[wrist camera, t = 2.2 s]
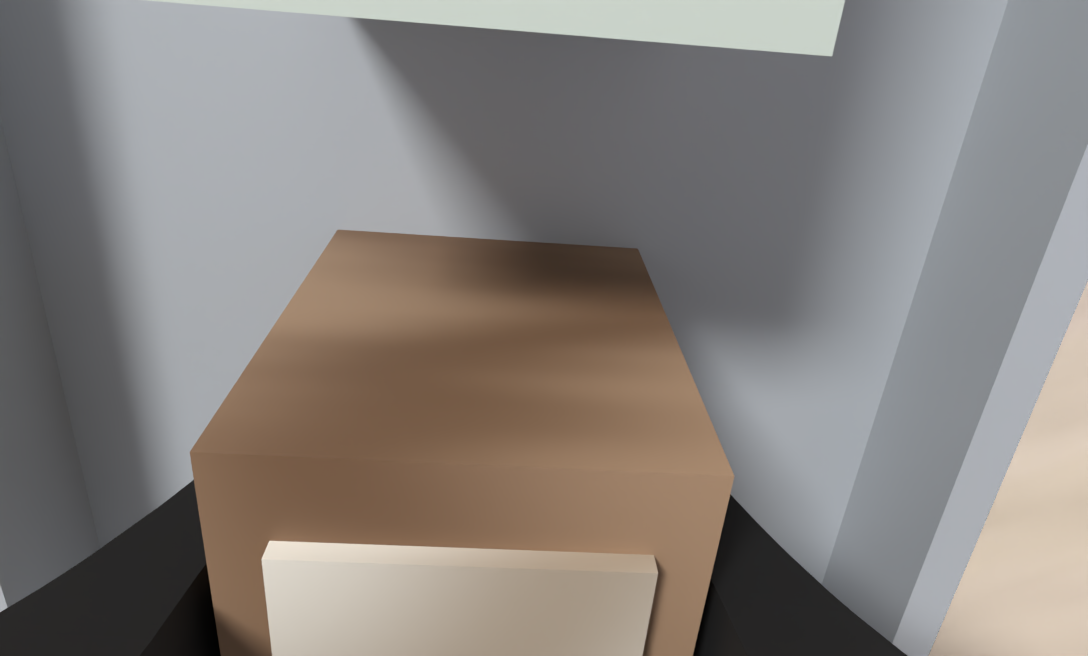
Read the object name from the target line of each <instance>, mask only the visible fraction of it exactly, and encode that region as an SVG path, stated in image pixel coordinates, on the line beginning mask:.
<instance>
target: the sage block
mask: <svg viewBox="0 0 1088 656" xmlns="http://www.w3.org/2000/svg"><path fill="white" fill-rule="evenodd" d="M146 1H158V2H170V3H183V4H195V5H207V6H219V7H232V8H244V9H256V10H268V11H281V12H293V13H305V14H317V15H330V16H342V17H354V18H366V19H379V20H391V21H403V22H415V23H428V24H440V25H452V26H465V27H477V28H489V29H501V30H514V31H526V32H538V33H550V34H563V35H575V36H587V37H599V38H612V39H624V40H636V41H648V42H661V43H673V44H685V45H697V46H710V47H722V48H734V49H747V50H759V51H771V52H783V53H796V54H808V55H820V56H832V55H833V50H834V46H835V42H836V37H837V33H838V29H839V24H840V20H841V16H842V12H843V7H844V3H845V0H146Z"/></svg>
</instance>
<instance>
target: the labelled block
mask: <svg viewBox="0 0 1088 656" xmlns="http://www.w3.org/2000/svg"><path fill="white" fill-rule="evenodd" d="M190 458H191V465H192V471H193V478H194V484H195V491H196V497H197V504H198V510H199V517H200V524H201V530H202V537H203V543H204V550H205V556H206V563H207V569H208V576H209V582H210V589H211V595H212V602H213V608H214V615H215V622H216V628H217V635H218V641H219V648H220V654H221V656H693V652H694V648H695V644H696V640H697V635H698V631H699V627H700V622H701V618H702V614H703V609H704V605H705V601H706V597H707V592H708V588H709V584H710V579H711V575H712V571H713V566H714V562H715V558H716V554H717V549H718V545H719V541H720V536H721V532H722V528H723V523H724V519H725V515H726V510H727V506H728V502H729V498H730V493H731V489H732V485H733V480H734V474H733V471H732V469H731V467H730V464H729V462H728V460H727V457H726V455H725V453H724V450H723V448H722V446H721V443H720V441H719V438H718V436H717V434H716V431H715V429H714V427H713V424H712V422H711V420H710V417H709V415H708V413H707V410H706V408H705V405H704V403H703V401H702V398H701V396H700V394H699V391H698V389H697V387H696V384H695V382H694V380H693V377H692V375H691V373H690V370H689V368H688V365H687V363H686V361H685V358H684V356H683V354H682V351H681V349H680V347H679V344H678V342H677V340H676V337H675V335H674V332H673V330H672V328H671V325H670V323H669V321H668V318H667V316H666V314H665V311H664V309H663V307H662V304H661V302H660V299H659V297H658V295H657V292H656V290H655V288H654V285H653V283H652V281H651V278H650V276H649V274H648V271H647V269H646V266H645V264H644V262H643V259H642V257H641V255H640V252H639V250H638V249H637V248H621V247H605V246H590V245H574V244H558V243H542V242H527V241H511V240H495V239H479V238H464V237H448V236H432V235H416V234H401V233H385V232H369V231H354V230H337V231H336V233H335V234H334V236H333V237H332V239H331V240H330V242H329V243H328V245H327V246H326V248H325V249H324V251H323V252H322V254H321V255H320V257H319V258H318V260H317V261H316V263H315V264H314V266H313V267H312V269H311V270H310V272H309V273H308V275H307V276H306V278H305V279H304V281H303V282H302V284H301V285H300V287H299V288H298V290H297V291H296V293H295V294H294V296H293V297H292V299H291V300H290V302H289V303H288V305H287V306H286V308H285V309H284V311H283V312H282V314H281V315H280V317H279V318H278V320H277V321H276V323H275V324H274V326H273V327H272V329H271V330H270V332H269V333H268V335H267V336H266V338H265V339H264V341H263V342H262V344H261V345H260V347H259V348H258V350H257V351H256V353H255V354H254V356H253V357H252V359H251V360H250V362H249V363H248V365H247V366H246V368H245V369H244V371H243V372H242V374H241V376H240V377H239V379H238V380H237V382H236V383H235V385H234V386H233V388H232V389H231V391H230V392H229V394H228V395H227V397H226V398H225V400H224V401H223V403H222V404H221V406H220V407H219V409H218V410H217V412H216V413H215V415H214V416H213V418H212V419H211V421H210V422H209V424H208V425H207V427H206V428H205V430H204V431H203V433H202V434H201V436H200V437H199V439H198V440H197V442H196V443H195V445H194V446H193V448H192V449H191V451H190Z"/></svg>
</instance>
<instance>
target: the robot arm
mask: <svg viewBox="0 0 1088 656" xmlns="http://www.w3.org/2000/svg"><path fill="white" fill-rule="evenodd" d="M0 656H221V654H220V648H219V641H218V635H217V628H216V622H215V615H214V608H213V602H212V595H211V589H210V582H209V576H208V569H207V563H206V556H205V550H204V543H203V537H202V530H201V524H200V517H199V510H198V504H197V497H196V491H195V484H194V480H193V481H191V482H190V483H189V484H187V485H186V486H185V487H184V488H182V489H181V490H180V491H179V492H177V493H176V494H175V495H173V496H172V497H171V498H170V499H168V500H167V501H166V502H164V503H163V504H162V505H160V506H159V507H158V508H156V509H155V510H153V511H152V512H151V513H149V514H148V515H146V516H145V517H144V518H142V519H141V520H139V521H138V522H137V523H135V524H134V525H132V526H131V527H130V528H128V529H127V530H125V531H124V532H123V533H121V534H120V535H118V536H117V537H116V538H114V539H113V540H111V541H110V542H109V543H107V544H106V545H104V546H103V547H102V548H100V549H99V550H97V551H96V552H95V553H93V554H92V555H90V556H89V557H87V558H86V559H84V560H83V561H81V562H80V563H78V564H77V565H75V566H74V567H72V568H71V569H69V570H68V571H66V572H65V573H63V574H62V575H60V576H58V577H57V578H55V579H54V580H52V581H51V582H49V583H47V584H46V585H44V586H43V587H41V588H40V589H38V590H36V591H35V592H33V593H31V594H30V595H28V596H26V597H25V598H23V599H21V600H20V601H18V602H16V603H15V604H13V605H11V606H10V607H8V608H6V609H5V610H3V611H1V612H0ZM693 656H907V655H906V654H905V653H903V652H902V651H901V650H900V649H898V648H897V647H896V646H895V645H893V644H892V643H891V642H890V641H888V640H887V639H886V638H885V637H883V636H882V635H881V634H880V633H878V632H877V631H876V630H875V629H873V628H872V627H871V626H870V625H868V624H867V623H866V622H865V621H863V620H862V619H861V618H860V617H858V616H857V615H856V614H855V613H854V612H852V611H851V610H850V609H849V608H848V607H847V606H845V605H844V604H843V603H842V602H841V601H840V600H838V599H837V598H836V597H835V596H834V595H833V594H831V593H830V592H829V591H828V590H827V589H826V588H825V587H824V586H823V585H822V584H821V583H819V582H818V581H817V580H816V579H815V578H814V577H813V576H812V575H811V574H810V573H809V572H808V571H806V570H805V569H804V568H803V567H802V566H801V565H800V564H799V563H798V562H797V561H796V560H795V559H793V558H792V557H791V556H790V555H789V554H788V553H787V552H786V551H785V550H784V549H783V548H782V547H781V546H780V545H779V544H778V543H777V542H776V541H775V540H774V539H773V538H772V537H771V536H770V535H769V534H768V533H767V532H766V531H765V530H764V529H763V528H762V527H761V526H760V525H759V524H758V523H757V522H756V521H755V520H754V519H753V518H752V517H751V516H750V514H749V513H748V512H747V511H746V510H745V509H744V508H743V507H742V506H741V505H740V504H739V503H738V502H737V501H736V500H735V499H734V497H733V496H732V495H731V494H730V498H729V502H728V506H727V510H726V515H725V519H724V523H723V528H722V532H721V536H720V541H719V545H718V549H717V554H716V558H715V562H714V566H713V571H712V575H711V579H710V584H709V588H708V592H707V597H706V601H705V605H704V609H703V614H702V618H701V622H700V627H699V631H698V635H697V640H696V644H695V648H694V652H693Z"/></svg>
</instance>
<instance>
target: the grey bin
mask: <svg viewBox="0 0 1088 656" xmlns="http://www.w3.org/2000/svg"><path fill="white" fill-rule="evenodd" d="M337 230H354V231H369V232H385V233H401V234H416V235H432V236H448V237H464V238H479V239H495V240H511V241H527V242H542V243H558V244H574V245H590V246H605V247H621V248H637V249H638V250H639V252H640V255H641V257H642V259H643V262H644V264H645V266H646V269H647V271H648V274H649V276H650V278H651V281H652V283H653V285H654V288H655V290H656V292H657V295H658V297H659V299H660V302H661V304H662V307H663V309H664V311H665V314H666V316H667V318H668V321H669V323H670V325H671V328H672V330H673V332H674V335H675V337H676V340H677V342H678V344H679V347H680V349H681V351H682V354H683V356H684V358H685V361H686V363H687V365H688V368H689V370H690V373H691V375H692V377H693V380H694V382H695V384H696V387H697V389H698V391H699V394H700V396H701V398H702V401H703V403H704V405H705V408H706V410H707V413H708V415H709V417H710V420H711V422H712V424H713V427H714V429H715V431H716V434H717V436H718V438H719V441H720V443H721V446H722V448H723V450H724V453H725V455H726V457H727V460H728V462H729V464H730V467H731V469H732V471H733V474H734V480H733V485H732V489H731V493H730V494H731V495H732V496H733V497H734V499H735V500H736V501H737V502H738V503H739V504H740V505H741V506H742V507H743V508H744V509H745V510H746V511H747V512H748V513H749V514H750V516H751V517H752V518H753V519H754V520H755V521H756V522H757V523H758V524H759V525H760V526H761V527H762V528H763V529H764V530H765V531H766V532H767V533H768V534H769V535H770V536H771V537H772V538H773V539H774V540H775V541H776V542H777V543H778V544H779V545H780V546H781V547H782V548H783V549H784V550H785V551H786V552H787V553H788V554H789V555H790V556H791V557H792V558H793V559H795V560H796V561H797V562H798V563H799V564H800V565H801V566H802V567H803V568H804V569H805V570H806V571H808V572H809V573H810V574H811V575H812V576H813V577H814V578H815V579H816V580H817V581H818V582H819V583H821V584H822V585H823V586H824V587H825V588H826V589H827V590H828V591H829V592H830V593H831V594H833V595H834V596H835V597H836V598H837V599H838V600H840V601H841V602H842V603H843V604H844V605H845V606H847V607H848V608H849V609H850V610H851V611H852V612H854V613H855V614H856V615H857V616H858V617H860V618H861V619H862V620H863V621H865V622H866V623H867V624H868V625H870V626H871V627H872V628H873V629H875V630H876V631H877V632H878V633H880V634H881V635H882V636H883V637H885V638H886V639H887V640H888V641H890V642H891V643H892V644H893V645H895V646H896V647H897V648H898V649H900V650H901V651H902V652H903V653H905V654H906V655H907V656H928V655H929V653H930V651H931V648H932V646H933V644H934V641H935V639H936V636H937V634H938V632H939V629H940V627H941V625H942V622H943V620H944V618H945V615H946V613H947V611H948V608H949V606H950V604H951V601H952V599H953V596H954V594H955V592H956V589H957V587H958V585H959V582H960V580H961V578H962V575H963V573H964V571H965V568H966V566H967V564H968V561H969V559H970V556H971V554H972V552H973V549H974V547H975V545H976V542H977V540H978V538H979V535H980V533H981V531H982V528H983V526H984V523H985V521H986V519H987V516H988V514H989V512H990V509H991V507H992V505H993V502H994V500H995V498H996V495H997V493H998V491H999V488H1000V486H1001V483H1002V481H1003V479H1004V476H1005V474H1006V472H1007V469H1008V467H1009V465H1010V462H1011V460H1012V458H1013V455H1014V453H1015V451H1016V448H1017V446H1018V443H1019V441H1020V439H1021V436H1022V434H1023V432H1024V429H1025V427H1026V425H1027V422H1028V420H1029V418H1030V415H1031V413H1032V410H1033V408H1034V406H1035V403H1036V401H1037V399H1038V396H1039V394H1040V392H1041V389H1042V387H1043V385H1044V382H1045V380H1046V378H1047V375H1048V373H1049V370H1050V368H1051V366H1052V363H1053V361H1054V359H1055V356H1056V354H1057V352H1058V349H1059V347H1060V345H1061V342H1062V340H1063V338H1064V335H1065V333H1066V330H1067V328H1068V326H1069V323H1070V321H1071V319H1072V316H1073V314H1074V312H1075V309H1076V307H1077V305H1078V302H1079V300H1080V297H1081V295H1082V293H1083V290H1084V288H1085V286H1086V283H1087V281H1088V0H845V3H844V7H843V12H842V16H841V20H840V24H839V29H838V33H837V37H836V42H835V46H834V50H833V55H832V56H820V55H808V54H796V53H783V52H771V51H759V50H747V49H734V48H722V47H710V46H697V45H685V44H673V43H661V42H648V41H636V40H624V39H612V38H599V37H587V36H575V35H563V34H550V33H538V32H526V31H514V30H501V29H489V28H477V27H465V26H452V25H440V24H428V23H415V22H403V21H391V20H379V19H366V18H354V17H342V16H330V15H317V14H305V13H293V12H281V11H268V10H256V9H244V8H232V7H219V6H207V5H195V4H183V3H170V2H158V1H146V0H0V612H1V611H3V610H5V609H6V608H8V607H10V606H11V605H13V604H15V603H16V602H18V601H20V600H21V599H23V598H25V597H26V596H28V595H30V594H31V593H33V592H35V591H36V590H38V589H40V588H41V587H43V586H44V585H46V584H47V583H49V582H51V581H52V580H54V579H55V578H57V577H58V576H60V575H62V574H63V573H65V572H66V571H68V570H69V569H71V568H72V567H74V566H75V565H77V564H78V563H80V562H81V561H83V560H84V559H86V558H87V557H89V556H90V555H92V554H93V553H95V552H96V551H97V550H99V549H100V548H102V547H103V546H104V545H106V544H107V543H109V542H110V541H111V540H113V539H114V538H116V537H117V536H118V535H120V534H121V533H123V532H124V531H125V530H127V529H128V528H130V527H131V526H132V525H134V524H135V523H137V522H138V521H139V520H141V519H142V518H144V517H145V516H146V515H148V514H149V513H151V512H152V511H153V510H155V509H156V508H158V507H159V506H160V505H162V504H163V503H164V502H166V501H167V500H168V499H170V498H171V497H172V496H173V495H175V494H176V493H177V492H179V491H180V490H181V489H182V488H184V487H185V486H186V485H187V484H189V483H190V482H191V481H193V480H194V478H193V471H192V465H191V458H190V451H191V449H192V448H193V446H194V445H195V443H196V442H197V440H198V439H199V437H200V436H201V434H202V433H203V431H204V430H205V428H206V427H207V425H208V424H209V422H210V421H211V419H212V418H213V416H214V415H215V413H216V412H217V410H218V409H219V407H220V406H221V404H222V403H223V401H224V400H225V398H226V397H227V395H228V394H229V392H230V391H231V389H232V388H233V386H234V385H235V383H236V382H237V380H238V379H239V377H240V376H241V374H242V372H243V371H244V369H245V368H246V366H247V365H248V363H249V362H250V360H251V359H252V357H253V356H254V354H255V353H256V351H257V350H258V348H259V347H260V345H261V344H262V342H263V341H264V339H265V338H266V336H267V335H268V333H269V332H270V330H271V329H272V327H273V326H274V324H275V323H276V321H277V320H278V318H279V317H280V315H281V314H282V312H283V311H284V309H285V308H286V306H287V305H288V303H289V302H290V300H291V299H292V297H293V296H294V294H295V293H296V291H297V290H298V288H299V287H300V285H301V284H302V282H303V281H304V279H305V278H306V276H307V275H308V273H309V272H310V270H311V269H312V267H313V266H314V264H315V263H316V261H317V260H318V258H319V257H320V255H321V254H322V252H323V251H324V249H325V248H326V246H327V245H328V243H329V242H330V240H331V239H332V237H333V236H334V234H335V233H336V231H337Z"/></svg>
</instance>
